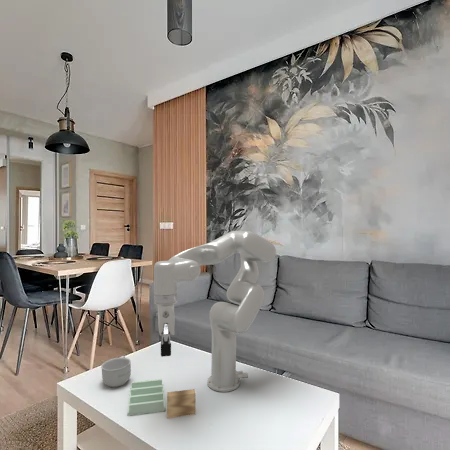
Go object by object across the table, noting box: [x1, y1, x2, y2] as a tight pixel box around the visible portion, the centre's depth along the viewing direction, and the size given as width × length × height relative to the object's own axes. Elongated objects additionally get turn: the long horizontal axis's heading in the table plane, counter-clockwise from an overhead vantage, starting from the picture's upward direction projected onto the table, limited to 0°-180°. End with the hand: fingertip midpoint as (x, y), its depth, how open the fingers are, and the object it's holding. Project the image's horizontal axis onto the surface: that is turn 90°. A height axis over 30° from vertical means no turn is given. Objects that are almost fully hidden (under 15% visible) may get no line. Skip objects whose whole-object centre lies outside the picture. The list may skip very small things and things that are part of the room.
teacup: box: [100, 355, 132, 388], centre depth 122 cm, size 14×11×8 cm
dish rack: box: [127, 378, 166, 417], centre depth 109 cm, size 12×16×3 cm
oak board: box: [166, 388, 196, 419], centre depth 102 cm, size 9×3×7 cm, turn 104°
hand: (165, 349), depth 103 cm, fingers open, 9 cm apart
